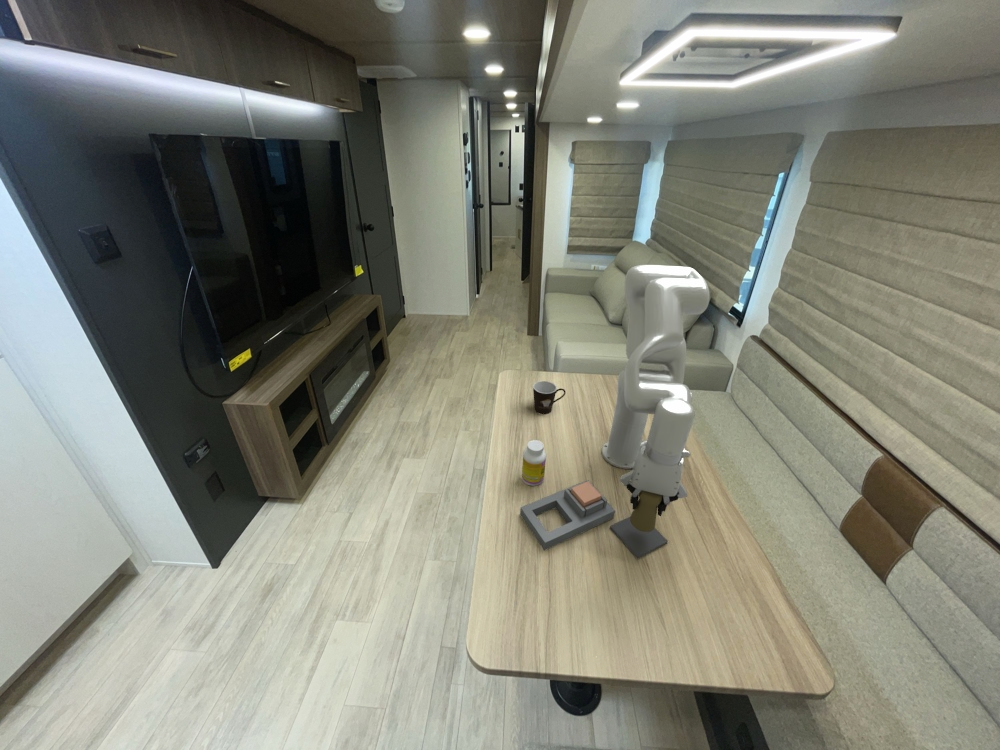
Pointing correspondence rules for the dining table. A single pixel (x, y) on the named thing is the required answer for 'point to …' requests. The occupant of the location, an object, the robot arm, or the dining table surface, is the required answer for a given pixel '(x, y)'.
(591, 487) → the salmon square block
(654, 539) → the rubber mat
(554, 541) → the frame
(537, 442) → the supplement bottle
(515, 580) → the dining table surface
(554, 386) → the coffee mug
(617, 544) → the dining table surface
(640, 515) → the brown pawn
